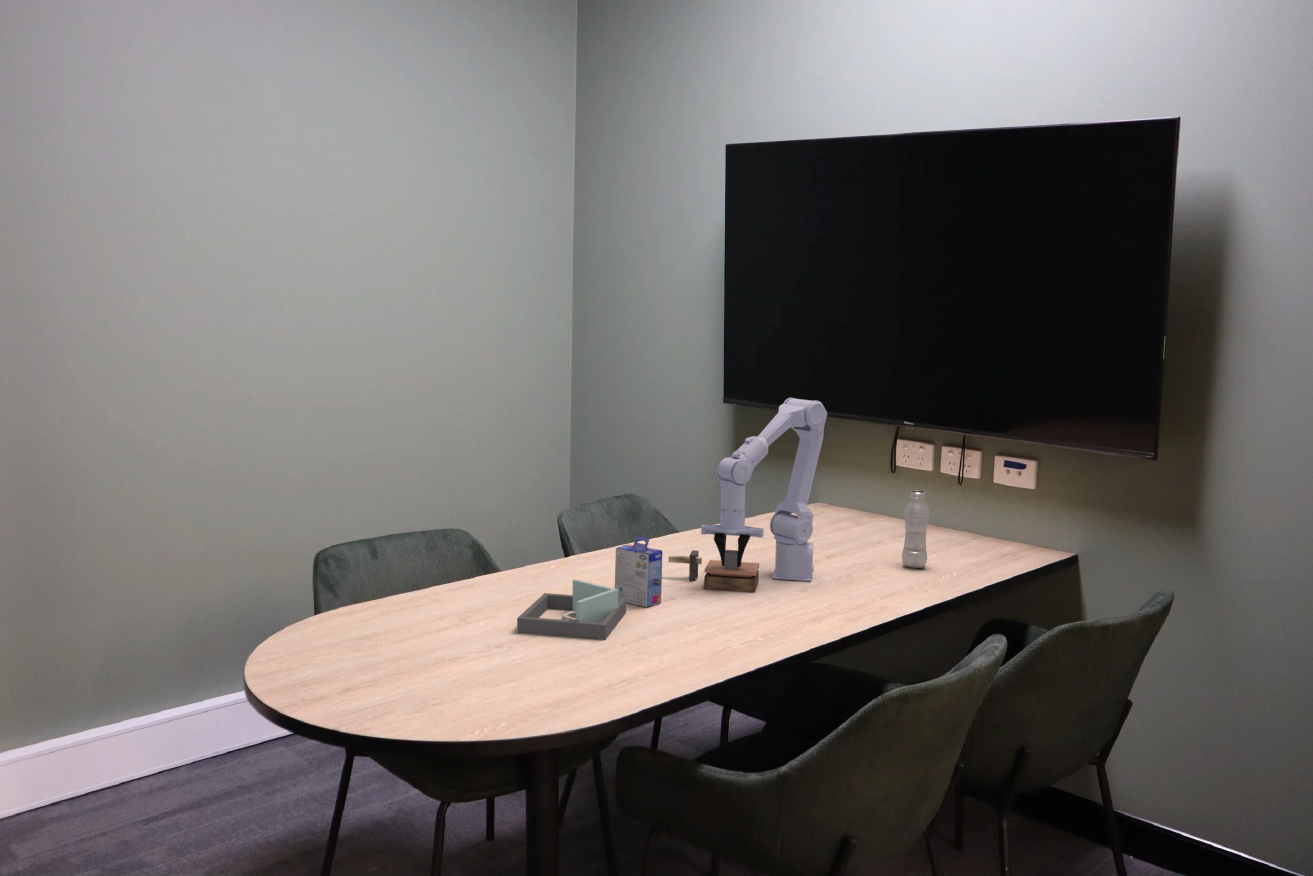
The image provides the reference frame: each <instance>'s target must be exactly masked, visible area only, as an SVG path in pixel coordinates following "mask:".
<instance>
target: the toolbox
mask: <svg viewBox="0 0 1313 876" xmlns="http://www.w3.org/2000/svg"><path fill="white" fill-rule="evenodd" d="M699 553H700V552H699V550H691V551H690V554H689V556H690V563H689V566H688V567H689V570H688V573H689V575H688V581H689V582H693V581H695V582H696V581H697V579H698V577H699V564H696V557H699ZM759 574H760V570H759V569H758V571H757V574H756V576H751V577H736V576H721V575H710V573H706V572H705V574H704V577H703V590H713V591H725V590H727V591H726V592H739V591H741V592H742V593H753V592H754V593H756V590H757V588H758V586H759V585H758V584H759V581H760V580H759V578H760V577H759ZM741 592H740V593H741ZM754 593H753V594H754Z"/></svg>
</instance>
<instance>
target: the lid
mask: <svg viewBox="0 0 1313 876" xmlns="http://www.w3.org/2000/svg"><path fill="white" fill-rule="evenodd" d="M737 560H738V549H737V550H736V549H735V550H733V549H726V551H725V560H724V566H722V562H721V560H715V559H714V560H713V559H710V560H709V561H708V563H707V565H706V567H705V568H704V573H705V574H706V573H710V575H721V576H736V577H751V576H756V574H757V571H758V570H759V569H760V563H759V562H745V561H741V566H740V567H737Z"/></svg>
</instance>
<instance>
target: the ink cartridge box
mask: <svg viewBox="0 0 1313 876" xmlns="http://www.w3.org/2000/svg"><path fill="white" fill-rule="evenodd" d="M639 541H643V542H645V543H640V542H639ZM649 542H650V538H648V537H642V536H638V535H636V538H635V540H634V543H633V544H623V545H621V546H617V547H615V564H614V565H615V566H614V589H618V599H626V603H628V604H632V605H636V606H640V607H641V606H642V607H645V608H648V607H651V606H655V605H659V604H661V603H662V589H663V588H662V586H663V585H662V584H663V583H662V582H663V581H662V579H663V550H662V549H658V548H657V549H656V548H651V547H648V546H649Z"/></svg>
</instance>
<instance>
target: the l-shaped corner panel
mask: <svg viewBox="0 0 1313 876" xmlns="http://www.w3.org/2000/svg"><path fill="white" fill-rule="evenodd" d="M572 595H573V605H572V610H568V612H565V613H562V614H561V619H560V620H571V621H583V622H596V623H602V622H603V620H604V619H605V618H606V617H607V615H608V614H609V613H610V612H611V610H614V609H616V608H618V589H615V587H613V588H612V587H611V586H610V587H609V586H605V585H600V584H596V583H593V582H589V581H588V582H587V581H584V580H580V579H575V578H574V579H572Z"/></svg>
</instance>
